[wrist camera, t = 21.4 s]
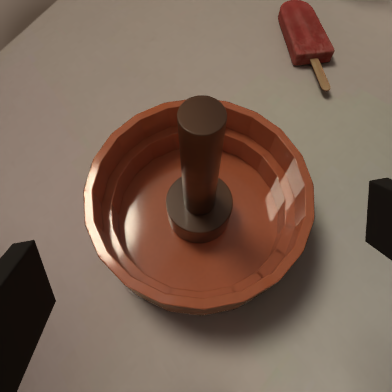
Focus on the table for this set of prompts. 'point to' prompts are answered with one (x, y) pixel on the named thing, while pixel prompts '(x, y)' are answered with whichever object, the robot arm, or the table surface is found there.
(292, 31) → the popsicle
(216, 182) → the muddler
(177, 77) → the table surface
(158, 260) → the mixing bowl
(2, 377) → the robot arm
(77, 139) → the table surface
